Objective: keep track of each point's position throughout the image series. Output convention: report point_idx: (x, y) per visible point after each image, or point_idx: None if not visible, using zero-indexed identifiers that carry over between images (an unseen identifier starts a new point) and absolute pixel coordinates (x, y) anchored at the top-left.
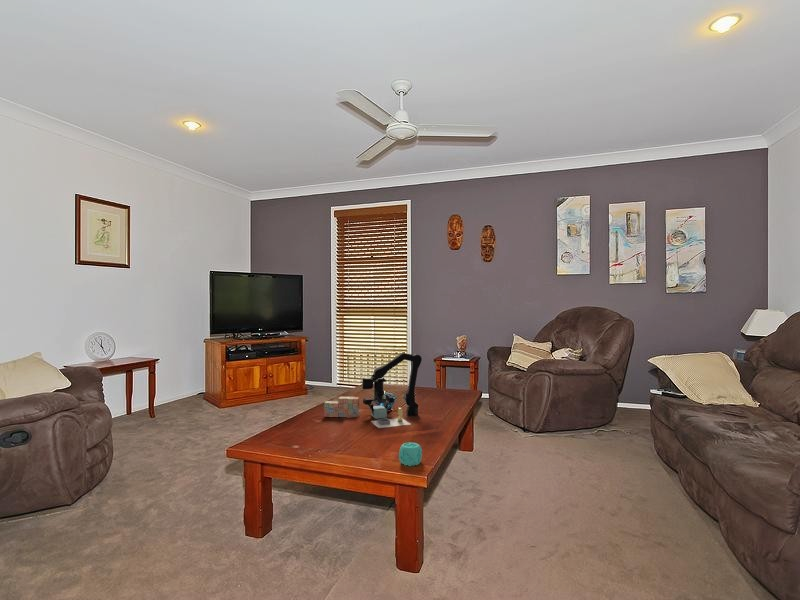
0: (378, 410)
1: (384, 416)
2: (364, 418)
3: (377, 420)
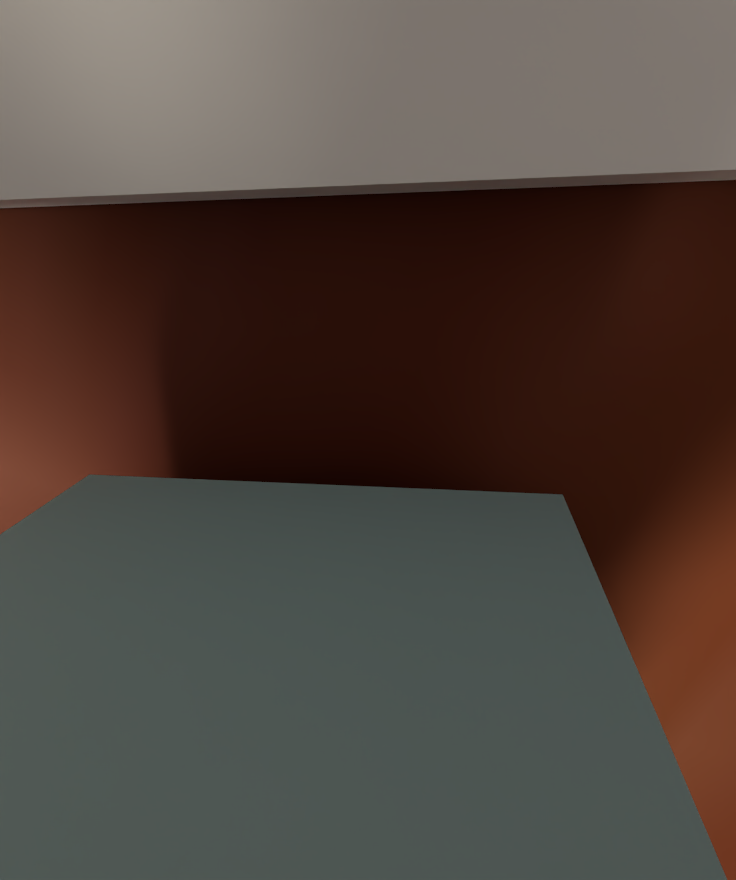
0: (390, 856)
1: (145, 502)
2: (724, 830)
3: (619, 153)
